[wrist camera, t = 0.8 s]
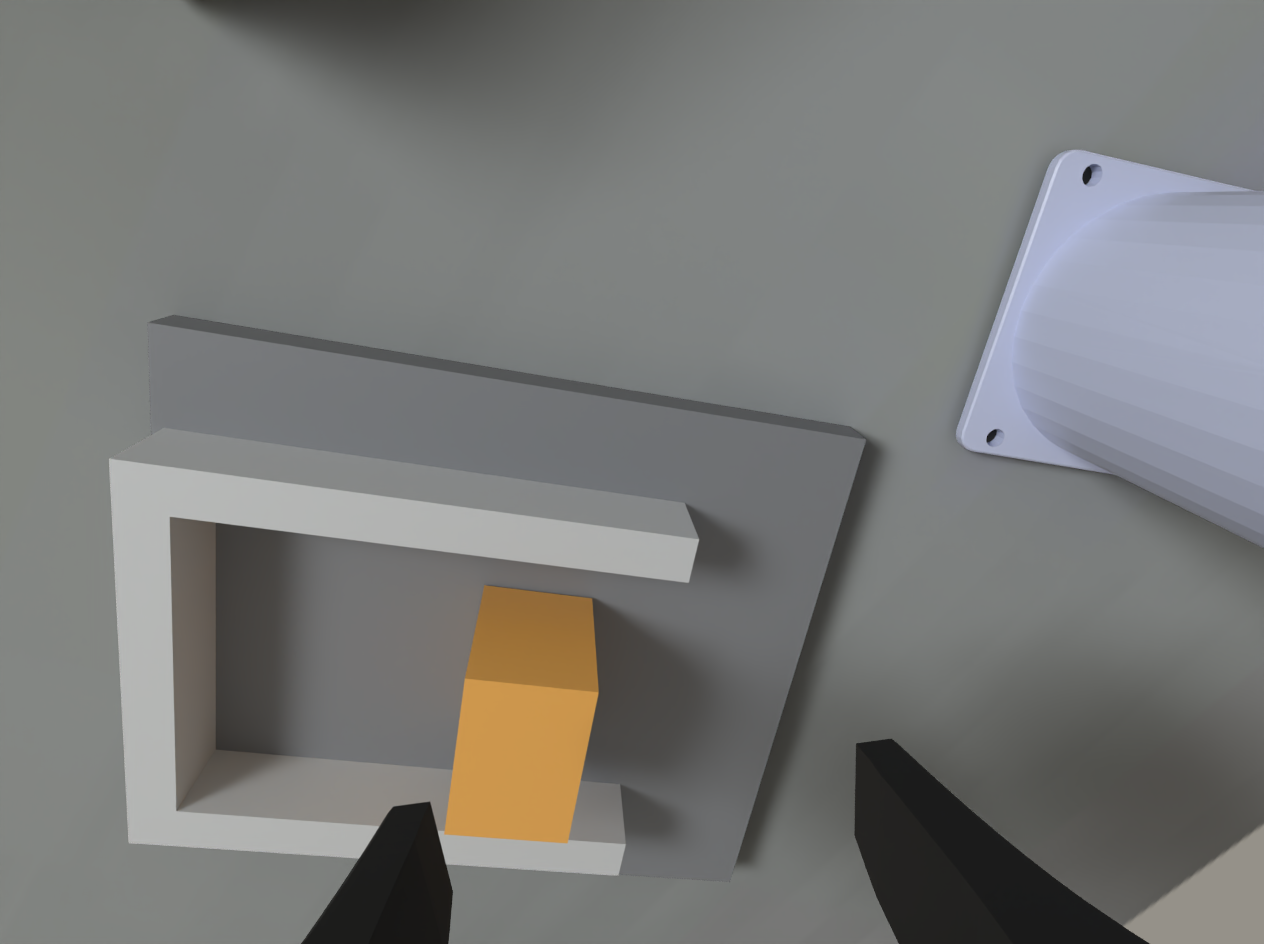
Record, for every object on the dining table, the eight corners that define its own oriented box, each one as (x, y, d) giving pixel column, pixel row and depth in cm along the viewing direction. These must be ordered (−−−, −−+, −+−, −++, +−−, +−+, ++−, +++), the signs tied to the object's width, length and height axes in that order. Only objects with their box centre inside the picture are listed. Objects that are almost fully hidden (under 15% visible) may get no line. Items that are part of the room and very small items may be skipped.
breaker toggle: (592, 598, 20) (598, 692, 17) (567, 728, 22) (567, 843, 18) (484, 585, 20) (464, 678, 16) (466, 719, 21) (444, 834, 18)
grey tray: (849, 426, 21) (903, 469, 17) (722, 852, 26) (745, 946, 23) (173, 314, 18) (87, 339, 15) (182, 813, 23) (120, 912, 20)
